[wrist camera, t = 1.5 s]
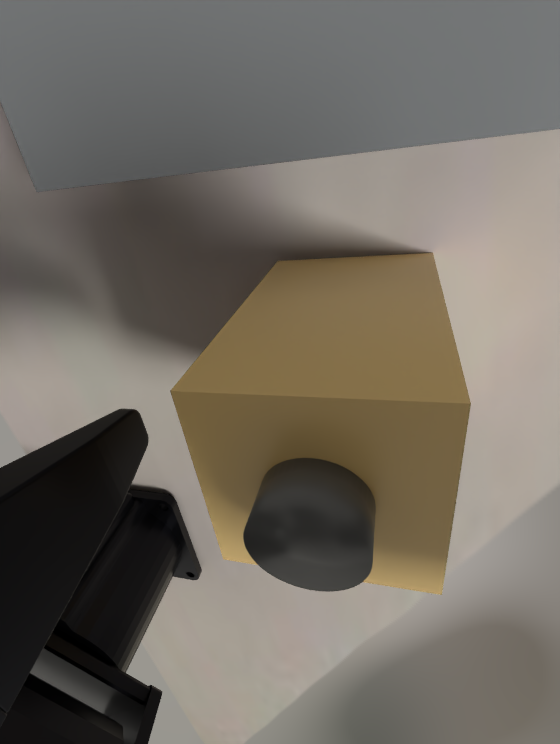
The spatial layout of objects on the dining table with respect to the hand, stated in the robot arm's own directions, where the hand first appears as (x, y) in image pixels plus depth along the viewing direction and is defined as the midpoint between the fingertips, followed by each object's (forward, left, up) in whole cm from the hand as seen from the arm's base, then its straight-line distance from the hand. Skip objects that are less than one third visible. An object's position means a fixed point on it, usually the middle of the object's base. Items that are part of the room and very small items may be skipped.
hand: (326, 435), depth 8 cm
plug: (0, 0, -5) cm, 5 cm away
